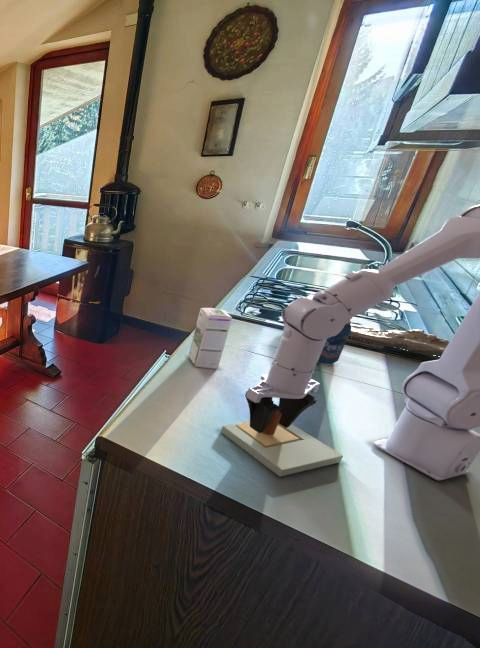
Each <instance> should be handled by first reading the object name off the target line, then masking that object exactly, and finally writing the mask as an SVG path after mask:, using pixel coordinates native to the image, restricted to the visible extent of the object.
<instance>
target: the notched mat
mask: <svg viewBox="0 0 480 648" xmlns="http://www.w3.org/2000/svg"><path fill="white" fill-rule="evenodd" d="M278 426H280V427H282V428H283V429H285V430H286V431H288V432H289V433H291V434H292V435H294V436H296V437H297V438H299V440H298V441H295V442H291V443H286V444H281V445H277V446H272V447H267V448H265V447H264V446H262V445H261V444H259V443H258V442H257V441H255V440H254V439H252V438H251V437H250V436H248V435H247V434H245V433H244V432H243V431H241V430H240V429H238V428H237V427H236V426H235V424H233V423H230V424H226V425H222V426H221V429H220V433H222V434H223V435H224V436H225V437H227V438H228V439H229V440H231V441H232V442H233V443H235V444H236V445H237V446H239V447H240V448H241V449H242V450H244V451H245V452H247V453H248V454H249V455H250V456H252V457H253V458H254V459H256V460H257V461H258V462H259V463H261V464H262V465H263V466H265V467H266V468H268V469H269V470H270V471H271V472H273V474H276V475H277V476H278V477H280V478H281V477H285V476H289V475H293V474H296V473H297V474H298V473H301V472H305V471H309V470H313V469H318V468H321V467H322V468H323V467H327V466H329V465H335V464H338V463H341V461H342V459H343V457H344V455H343V454H341V453H340V452H338V451H336V450H335V449H333V448H332V447H330V446H328V445H326V444H325V443H323V442H322V441H320V440H318V439H317V438H315V437H314V436H312V435H310V434H308V433H307V432H305V431H304V430H303V429H301V428H299V427H297V426H296V425H294V424H293V423H292V424H291V425H290V426H289V427H288V428H285V427H284V426H282V425H280V424H279V423H278Z"/></svg>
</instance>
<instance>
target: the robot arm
mask: <svg viewBox="0 0 480 648" xmlns="http://www.w3.org/2000/svg"><path fill="white" fill-rule="evenodd" d="M457 259H480V204H478V205H474V206H471V207H469V208H466V209H465V210H463V211H461V213H459V214H458V215H455V216H453V217H450V218H448V219H446V220H445V221H444V223H443V224H442V226H441V229H440V230H439V231H437V232H436V233H434V234H432V235H431V236H428V237H427V238H425V239H424V240H423V241H421V242H419V243H417V244H416V245H414V246H413V247H411V248H410V249H408V250H406V251H404V252H403V253H401V254H400V255H398V256H396V257H394V258H393V259H392V260H389V262H387V263H384V264H383V265H382V266H380V267H379V268H377V269H360V270H358V271H350V272H349V273H347V274H345V275H344V277H345V278H343V279H341V280H339V281H337V282H336V283H333V284H332V285H329V286H328V287H326V288H325V289H322V290H318V291H316V292H315V293H314V294H313V295H312V296H306V297H305V296H302V297H299V298H296V299H294V300H292V301H291V302H290V303H289V304H288V305H287V306H286V308H282V309H281V319H282V321H283V320H284V322H285V326H284V325H283V329H282V331H283V332H282V335H281V337H280V340H279V343H278V345H277V348H276V352H275V354H274V357H273V359H272V362H271V365H270V367H269V370H268V373H266V374H261V375H260V380H261V381H260V382H259V383H257V384H256V385H255V386H252V387H249V388H248V389H247V390H246V391H245V394H244V397H245V399H246V401H247V405H248V411H249V421H250V427H251V428H252V429H254V430H255V431H257V432H258V433H262V432H263V431H264V430H265V429H266V427H267V425H268V423H269V421H270V420H271V418H272V417H273V416H274V415H275V414H276V413H277V412H278V411H280V412H281V413H282V416H281V418H280V421H279V424H280V425H282V426H284V427H285V428H288V427H289V426H290V425H291V424H292V425H293V423H294V422H295V421H296V419H298V417H299V416H300V415H301V414H302V413H304V412H305V411H306V410H307V409H308V408H310V407H312V406H313V405H316V403H317V401H318V399H317V398H316V397H315V396H313V395H311V394H310V393H312V394H314V393H317V392H318V390H319V387H320V385H321V383H320V382H318V381H316V380H314V379H312V376H313V374H314V372H315V369H316V367H317V364H318V363H317V362H318V359H319V357H320V355H321V352H322V350H323V347H324V345H325V343H326V340H327V338H330V337H332V336H336V335H337V334H338V333H340V332H341V330H342V329H343V327H344V326H345V324H346V323H347V322H349V321H351V320H352V319H353V317H356V316H357V315H360V314H361V313H364V312H365V311H367V310H370V309H371V308H373V307H376V306H377V305H379V304H381V303H384V302H385V301H387V300H389V299H391V297H392V295H393V292H394V289H395V287H398V286H399V285H402V284H404V283H406V282H409V281H410V280H413V279H415V278H418V277H420V276H422V275H424V274H426V273H429V272H431V271H433V270H436V269H437V268H439V267H440V268H441V267H442V266H444V265H446V264H449V263H451V262H453V261H455V260H457ZM451 337H452V338H451V339H450V340H449V344H448V346H447V347H446V349H445V351H444V352H443V354H442V356H441V357H440V358H438V359H434V360H428V361H423V362H421V363H420V364H419V365H418V367H417V369H416V370H415V371H414V372H413V373H411V374H410V375H408V376H407V377H406V378H405V379H404V380H403V382H402V384H401V392H402V394H403V395H404V396H405V398H404V401H403V403H405V404H406V405H405V406H404V409H403V410H402V412H401V414H400V415H399V417H398V419H397V421H396V423H395V425H394V426H393V429H392V430H391V432H390V433H389V435H388V438H383V439H381V440H376V441H372V446H374V447H376V448H378V449H380V450H381V451H383V452H385V453H387V454H389V455H391V456H392V457H393V458H396V459H397V460H399V461H401V462H402V463H405V464H406V465H407V466H410V467H412V468H413V469H415V470H417V471H419V472H420V473H422V474H424V475H426V476H428V477H430V478H431V479H433V480H435V481H438V482H439V481H440V482H441V481H443V480H444V481H445V480H447V479H450V478H451V479H452V478H454V477H459V476H461V475H465V474H468V473H469V468H470V467H471V466H472V465H473V462H474V461H475V459H476V458H477V456H478V455H479V454H480V433H478V432H477V431H475V430H473V429H476V428H480V291H479V292H478V294H477V295H476V297H475V299H474V300H473V302H472V304H471V305H470V307H469V308H468V311H467V312H466V313H465V315H464V317H463V319H462V321H461V322H460V324H459V326H458V327H457V329H456V331H455V332H454V334H453V336H451ZM274 398H275V399H279V401H278V404H276V403H274V402H275V401H274V400H273V399H274Z"/></svg>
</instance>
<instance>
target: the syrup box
mask: <svg viewBox="0 0 480 648" xmlns="http://www.w3.org/2000/svg"><path fill="white" fill-rule="evenodd" d="M198 313H199V314H198V317H197V321H196V323H195V328H194V333H193V336H192V340H191V344H190V347H189V348H190V349H189V352H188V356H187V357H188V358H189V360H190V362H191V363H192V364H193V365H194V367H196V368H204V369H214V370H218V369H219V366H220V362H221V359H222V356H223V352H224V349H225V346H226V342H227V337H228V334H229V332H230V331H229V330H230V327H231V323H232V320H233V316H231V315H230V314H229V313H228V312H227V311H226V310H225V309H222V308H216V307H200V309H199V312H198Z"/></svg>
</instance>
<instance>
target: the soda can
mask: <svg viewBox="0 0 480 648" xmlns="http://www.w3.org/2000/svg"><path fill="white" fill-rule="evenodd" d="M351 324H352V321H351V320H350V321H349V322H347V323H346V324H345V326H344V327H343V329H342V330H341V332H340V333H338V334H337V335H336V336H332V337H330V338H327V340H326V343H325V345H324V347H323V350H322V352H321V355H320V357H319V359H318V362H317V364H321V365H325V366H326V365H327V366H329V365H330V366H331V365H333V364H334V363H337V362H338V361H339V360H340V357H341V354H342V353H343V350H344V348H345V346H346V343H347V341H348V336H349V334H350V332H351V329H352V328H351Z"/></svg>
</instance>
